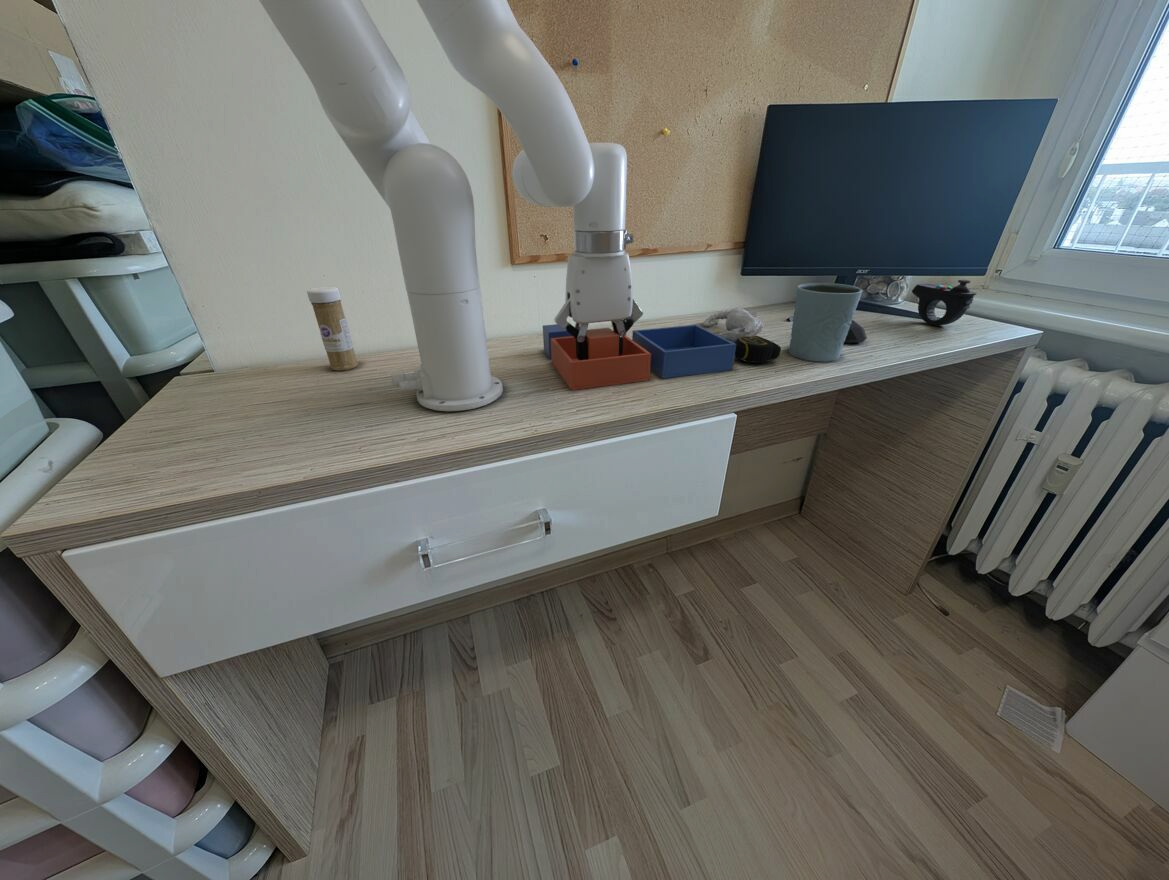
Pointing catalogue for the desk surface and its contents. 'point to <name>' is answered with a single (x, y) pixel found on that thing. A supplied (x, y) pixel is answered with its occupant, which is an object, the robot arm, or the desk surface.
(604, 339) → the terracotta block
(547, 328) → the blue block
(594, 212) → the robot arm
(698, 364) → the blue bin
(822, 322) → the grey-green cup
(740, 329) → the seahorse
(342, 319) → the sprinkles bottle
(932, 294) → the controller
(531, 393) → the desk surface
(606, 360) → the terracotta bin
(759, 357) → the tape measure
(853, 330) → the gaming mouse
